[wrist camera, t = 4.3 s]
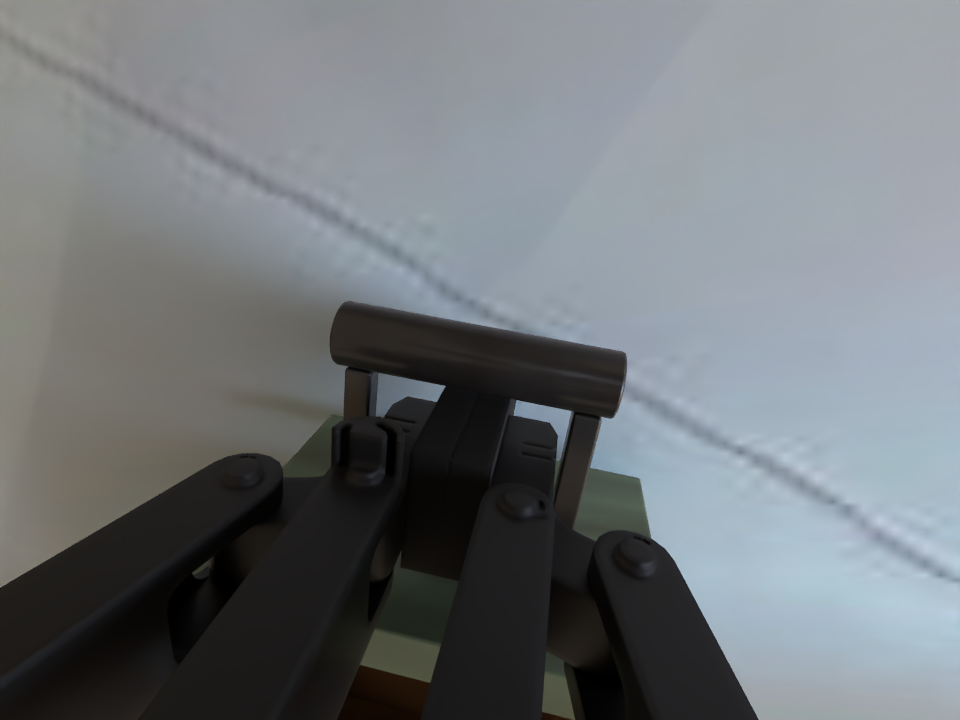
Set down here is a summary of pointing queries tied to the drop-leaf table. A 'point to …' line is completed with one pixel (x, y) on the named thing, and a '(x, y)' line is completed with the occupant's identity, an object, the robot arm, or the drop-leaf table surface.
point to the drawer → (490, 370)
